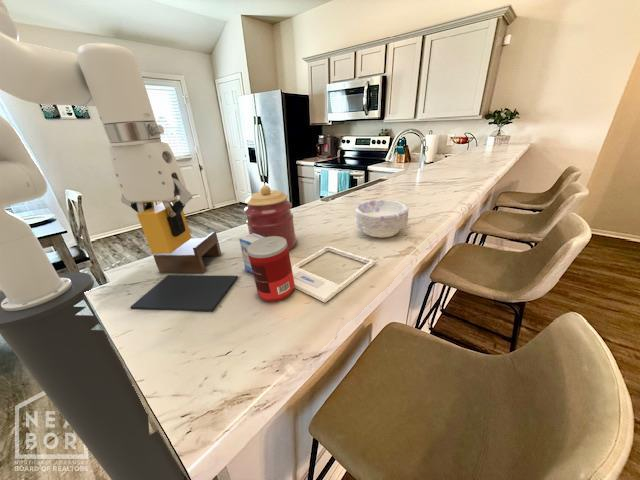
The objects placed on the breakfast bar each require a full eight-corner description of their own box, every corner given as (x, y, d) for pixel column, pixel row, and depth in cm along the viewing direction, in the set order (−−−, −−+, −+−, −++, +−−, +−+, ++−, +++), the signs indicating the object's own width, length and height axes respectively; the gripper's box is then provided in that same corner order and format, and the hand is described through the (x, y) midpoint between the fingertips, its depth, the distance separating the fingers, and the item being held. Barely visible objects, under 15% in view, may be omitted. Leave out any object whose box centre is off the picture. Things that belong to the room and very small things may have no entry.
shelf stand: (159, 272, 67) (150, 248, 64) (182, 254, 76) (175, 232, 73) (203, 272, 65) (195, 247, 62) (221, 254, 74) (215, 231, 71)
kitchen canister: (284, 233, 85) (276, 178, 77) (305, 246, 75) (298, 184, 67) (245, 245, 78) (232, 186, 71) (262, 261, 68) (249, 195, 61)
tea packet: (151, 253, 50) (136, 214, 47) (174, 238, 57) (162, 202, 53) (170, 253, 50) (156, 213, 46) (191, 238, 56) (180, 201, 53)
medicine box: (245, 270, 65) (238, 238, 61) (259, 262, 68) (253, 231, 64) (265, 280, 60) (258, 246, 56) (279, 271, 63) (274, 239, 59)
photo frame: (276, 274, 60) (327, 245, 71) (276, 278, 60) (327, 248, 72) (324, 298, 50) (374, 259, 62) (325, 302, 51) (374, 264, 63)
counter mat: (131, 309, 54) (129, 306, 54) (168, 277, 65) (167, 275, 64) (212, 311, 51) (212, 309, 51) (237, 277, 62) (237, 275, 62)
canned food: (298, 279, 59) (291, 235, 54) (289, 303, 52) (279, 255, 47) (266, 279, 60) (256, 236, 55) (252, 302, 53) (240, 255, 48)
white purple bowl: (392, 247, 70) (393, 219, 67) (345, 235, 80) (344, 210, 76) (415, 228, 81) (417, 203, 77) (371, 219, 90) (371, 197, 87)
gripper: (192, 130, 47) (217, 226, 54) (110, 137, 49) (145, 228, 57) (164, 132, 40) (197, 241, 47) (70, 140, 42) (116, 243, 50)
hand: (168, 233), depth 52 cm, fingers closed on tea packet, 4 cm apart
